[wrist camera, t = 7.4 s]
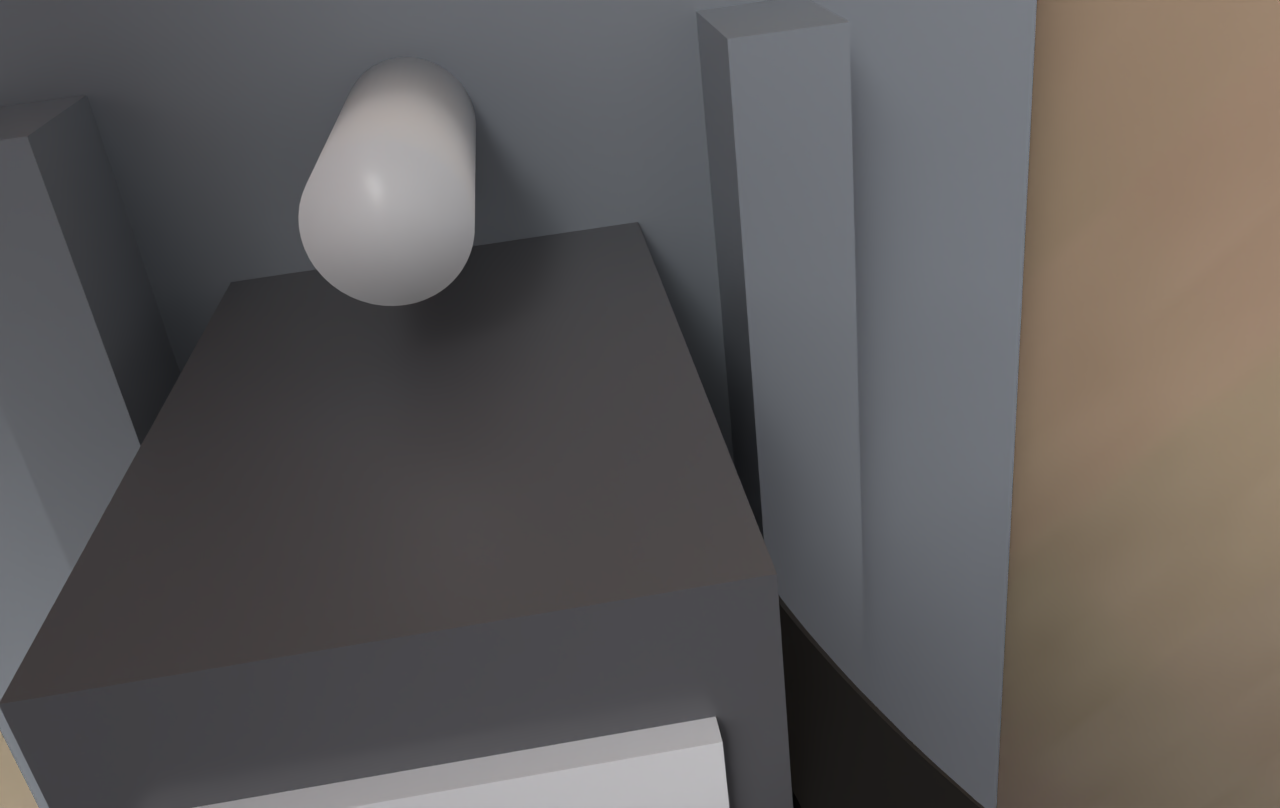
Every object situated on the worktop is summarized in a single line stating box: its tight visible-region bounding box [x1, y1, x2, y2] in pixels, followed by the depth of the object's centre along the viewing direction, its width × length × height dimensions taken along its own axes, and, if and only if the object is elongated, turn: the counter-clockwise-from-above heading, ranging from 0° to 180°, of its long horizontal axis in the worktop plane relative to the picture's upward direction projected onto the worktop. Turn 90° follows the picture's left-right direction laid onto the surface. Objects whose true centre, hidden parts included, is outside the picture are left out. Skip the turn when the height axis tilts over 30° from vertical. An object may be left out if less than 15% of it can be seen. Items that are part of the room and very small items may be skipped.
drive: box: [0, 222, 793, 808], centre depth 10 cm, size 7×4×6 cm, turn 7°
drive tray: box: [0, 0, 1037, 808], centre depth 12 cm, size 16×12×4 cm
